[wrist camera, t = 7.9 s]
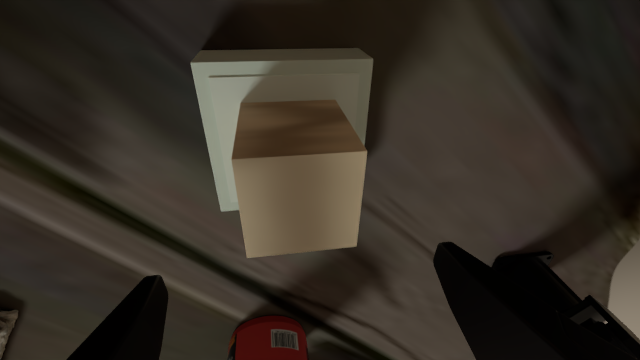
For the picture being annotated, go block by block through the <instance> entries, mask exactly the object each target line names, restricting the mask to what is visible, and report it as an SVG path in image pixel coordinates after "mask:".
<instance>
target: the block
mask: <svg viewBox="0 0 640 360" xmlns="http://www.w3.org/2000/svg"><path fill="white" fill-rule="evenodd" d="M366 159H367V150H366V148H365V147H364V145H363V143H362V142H361V140H360V138H359V137H358V135H357V134H356V132H355V130H354V129H353V127H352V126H351V124H350V122H349V121H348V119H347V117H346V116H345V114H344V113H343V111H342V109H341V108H340V106H339V105H338V103H337V101H336V100H310V101H282V102H253V103H240V109H239V115H238V121H237V127H236V134H235V140H234V146H233V152H232V158H231V160H232V167H233V173H234V179H235V186H236V192H237V198H238V205H239V211H240V217H241V223H242V230H243V236H244V242H245V249H246V255H247V258H253V257H262V256H272V255H281V254H290V253H300V252H309V251H319V250H328V249H337V248H347V247H356V246H357V237H358V229H359V220H360V211H361V202H362V194H363V185H364V176H365V168H366Z"/></svg>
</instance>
